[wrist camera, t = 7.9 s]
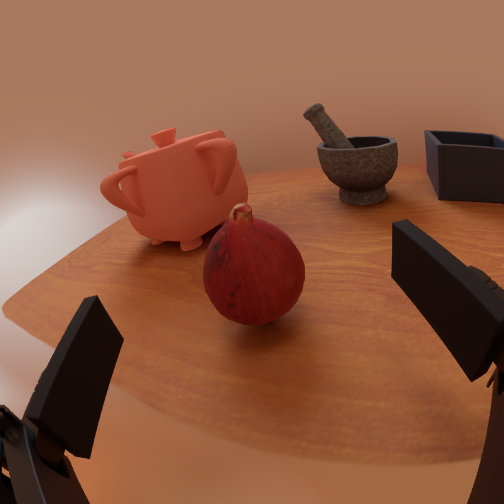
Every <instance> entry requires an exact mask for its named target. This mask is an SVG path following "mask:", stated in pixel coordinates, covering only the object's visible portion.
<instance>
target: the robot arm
mask: <svg viewBox="0 0 504 504" xmlns="http://www.w3.org/2000/svg"><path fill="white" fill-rule="evenodd" d="M391 277H392V278H393V279H394V281H395V282H396V283H397V284H398V285H399V286H400V288H401V289H402V290H403V291H404V293H405V294H406V295H407V296H408V297H409V299H410V300H411V301H412V302H413V304H414V305H415V306H416V307H417V309H418V310H419V311H420V312H421V314H422V315H423V316H424V317H425V319H426V320H427V321H428V323H429V324H430V325H431V327H432V328H433V329H434V330H435V332H436V333H437V334H438V336H439V337H440V339H441V340H442V341H443V343H444V344H445V345H446V347H447V348H448V350H449V351H450V352H451V354H452V355H453V357H454V358H455V359H456V361H457V362H458V364H459V365H460V367H461V368H462V370H463V371H464V373H465V374H466V376H467V377H468V379H469V380H470V382H473V381H474V380H476V379H478V378H479V377H481V376H482V375H484V374H485V373H487V371H488V369H489V367H490V366H491V364H492V362H494V363H495V365H496V366H497V367H496V369H495V371H494V373H493V374H492V376H491V378H490V379H489V381H488V383H487V387H489V386H490V385H491V383H492V382H493V380H494V383H493V387H492V388H493V394H492V403H491V410H490V417H489V424H488V429H487V435H486V440H485V444H484V449H483V453H482V457H481V461H480V465H479V469H478V472H477V476H476V479H475V482H474V485H473V488H472V491H471V494H470V497H469V500H468V503H467V504H504V290H503V289H502V288H501V287H499V286H498V284H497V283H496V282H494V281H492V280H491V278H490V277H489V276H488V275H487V274H485V273H484V272H483V271H481V270H479V269H477V268H475V267H473V266H469V267H467V266H466V265H464V264H463V263H462V262H461V261H460V260H459V259H457V258H456V257H455V256H454V255H453V254H451V253H450V252H449V251H448V250H446V249H445V248H444V247H443V246H441V245H440V244H439V243H438V242H436V241H435V240H434V239H433V238H431V237H430V236H429V235H427V234H426V233H425V232H423V231H422V230H421V229H419V228H418V227H417V226H415V225H414V224H413V223H411V222H410V221H409V220H407V219H405V220H401V221H397V222H394V223H392V272H391ZM123 341H124V338H123V337H122V335H121V334H120V332H119V331H118V329H117V328H116V326H115V324H114V323H113V321H112V320H111V318H110V316H109V315H108V313H107V311H106V310H105V308H104V306H103V305H102V303H101V301H100V299H99V298H98V296H97V295H96V296H91V297H87V298H84V300H83V302H82V303H81V305H80V307H79V308H78V310H77V312H76V313H75V315H74V317H73V319H72V320H71V322H70V324H69V326H68V327H67V329H66V331H65V333H64V335H63V336H62V338H61V340H60V342H59V344H58V346H57V348H56V350H55V352H54V354H53V355H52V357H51V359H50V361H49V363H48V365H47V368H46V369H45V370H44V371H43V372H42V374H41V377H40V379H39V381H38V384H37V385H36V387H35V392H33V394H32V397H31V399H30V401H29V403H28V406H27V408H26V410H25V413H24V415H23V418H22V420H20V419H19V418H18V417H17V416H15V415H14V414H13V413H12V412H11V411H10V410H9V409H8V408H7V407H6V406H5V405H0V504H90V503H89V501H88V499H87V497H86V495H85V493H84V491H83V489H82V488H81V485H80V483H79V481H78V479H77V476H76V475H75V472H74V470H73V467H72V465H71V463H70V460H69V459H68V457H67V456H65V455H64V452H65V449H66V450H67V451H68V452H70V453H71V454H73V455H74V456H76V457H81V458H87V459H90V456H91V452H92V447H93V443H94V438H95V434H96V430H97V426H98V423H99V419H100V415H101V411H102V408H103V404H104V401H105V397H106V394H107V390H108V387H109V384H110V381H111V377H112V374H113V371H114V368H115V365H116V362H117V359H118V356H119V353H120V350H121V347H122V344H123ZM2 467H3V468H4V469H6V470H7V471H9V474H10V478H9V477H7V476H6V475H4V474H3V473H2Z"/></svg>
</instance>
